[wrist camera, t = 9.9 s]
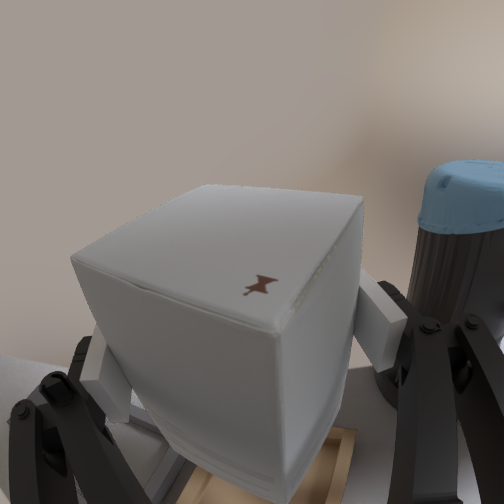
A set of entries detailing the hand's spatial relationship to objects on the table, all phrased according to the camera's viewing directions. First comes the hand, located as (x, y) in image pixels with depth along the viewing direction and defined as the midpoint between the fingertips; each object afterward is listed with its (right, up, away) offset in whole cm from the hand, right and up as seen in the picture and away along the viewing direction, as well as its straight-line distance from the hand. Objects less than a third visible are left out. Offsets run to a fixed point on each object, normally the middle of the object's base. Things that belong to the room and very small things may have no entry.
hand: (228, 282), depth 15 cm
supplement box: (+2, -9, 0) cm, 9 cm away
